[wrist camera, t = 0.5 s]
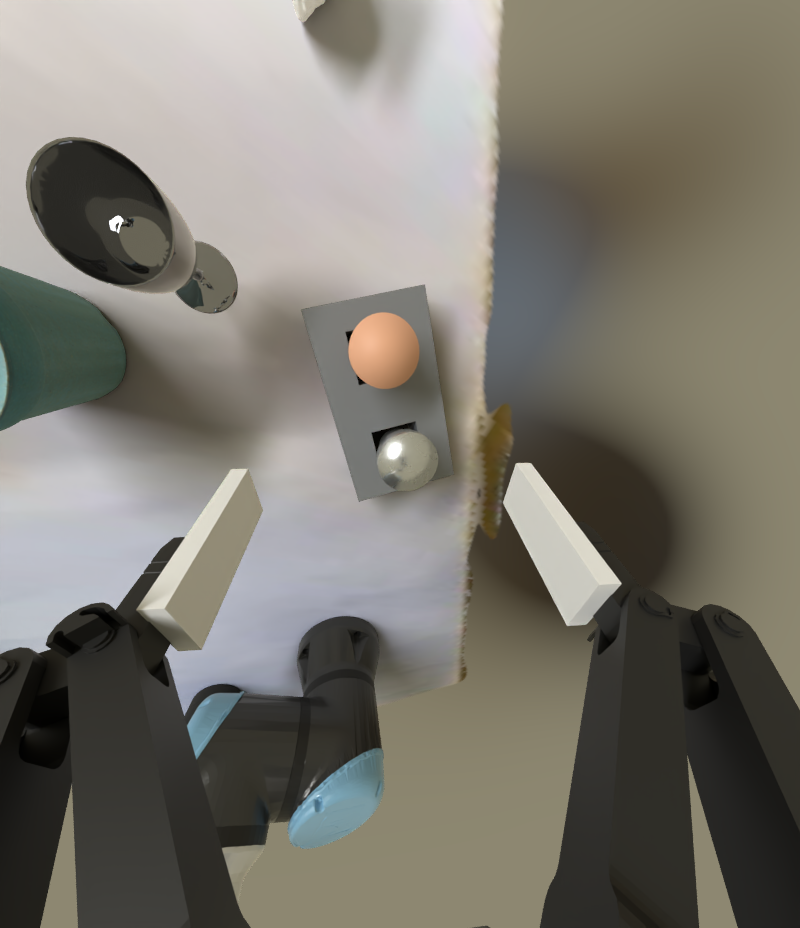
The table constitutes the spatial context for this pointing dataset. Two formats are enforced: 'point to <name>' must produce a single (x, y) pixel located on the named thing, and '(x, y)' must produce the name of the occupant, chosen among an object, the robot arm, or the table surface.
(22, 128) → the table surface
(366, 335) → the peach rounded piece
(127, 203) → the wine glass
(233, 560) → the robot arm
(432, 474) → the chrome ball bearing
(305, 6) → the bust
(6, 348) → the flower pot
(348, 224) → the table surface
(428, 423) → the press console
